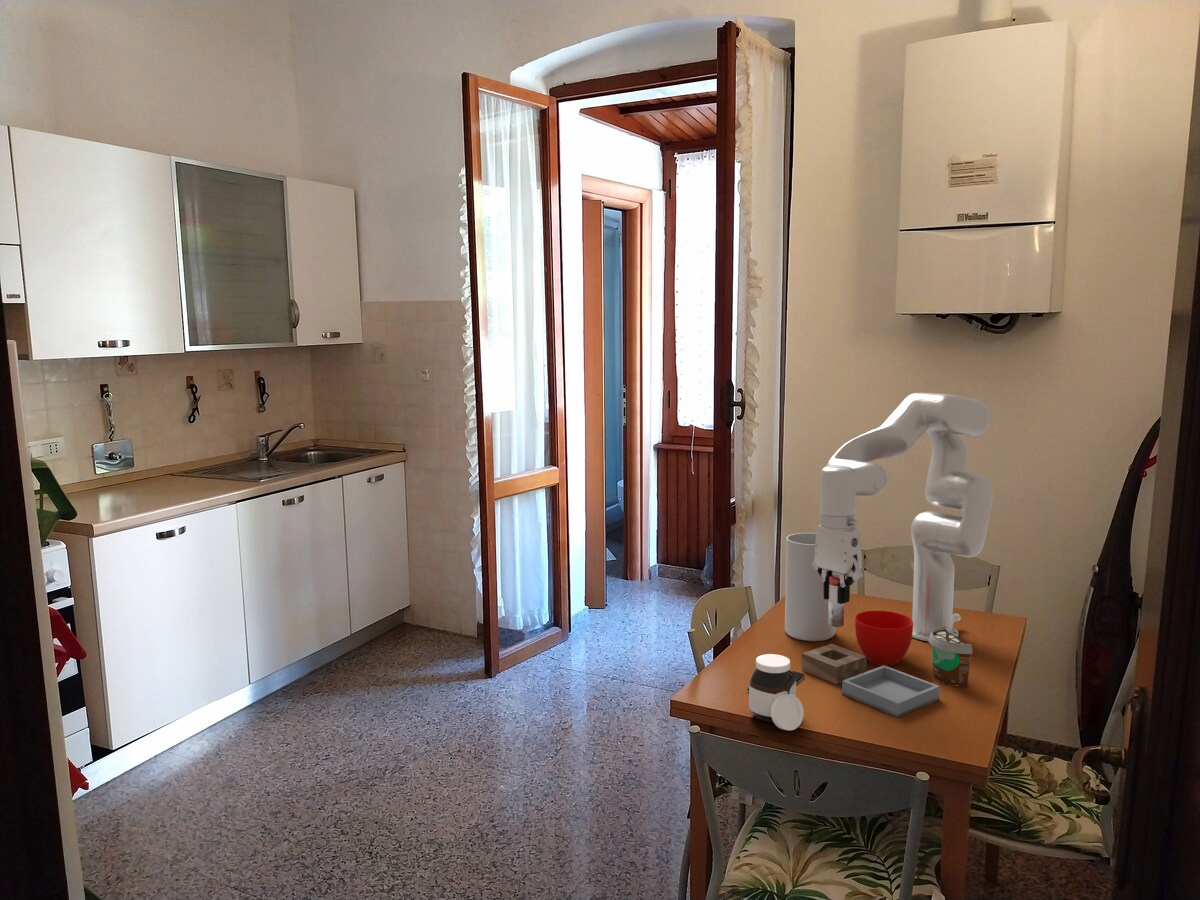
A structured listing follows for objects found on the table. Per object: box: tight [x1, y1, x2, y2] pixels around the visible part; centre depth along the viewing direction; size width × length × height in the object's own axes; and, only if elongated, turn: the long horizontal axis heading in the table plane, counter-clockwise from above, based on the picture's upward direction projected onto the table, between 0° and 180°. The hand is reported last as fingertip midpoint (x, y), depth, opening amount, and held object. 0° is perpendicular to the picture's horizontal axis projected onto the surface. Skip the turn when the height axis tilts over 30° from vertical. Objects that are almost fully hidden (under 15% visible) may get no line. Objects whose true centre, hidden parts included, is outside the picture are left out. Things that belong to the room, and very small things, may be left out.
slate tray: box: [841, 665, 941, 719], centre depth 181 cm, size 14×14×3 cm
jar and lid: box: [748, 653, 804, 731], centre depth 172 cm, size 12×11×12 cm
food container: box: [928, 626, 973, 687], centre depth 190 cm, size 12×6×10 cm, turn 5°
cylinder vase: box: [784, 532, 837, 642], centre depth 218 cm, size 12×12×25 cm
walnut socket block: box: [801, 643, 867, 685], centre depth 195 cm, size 10×10×4 cm
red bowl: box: [854, 610, 913, 666], centre depth 202 cm, size 13×17×10 cm
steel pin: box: [828, 574, 845, 628], centre depth 193 cm, size 3×3×11 cm
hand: (836, 599), depth 193 cm, fingers closed on steel pin, 3 cm apart
